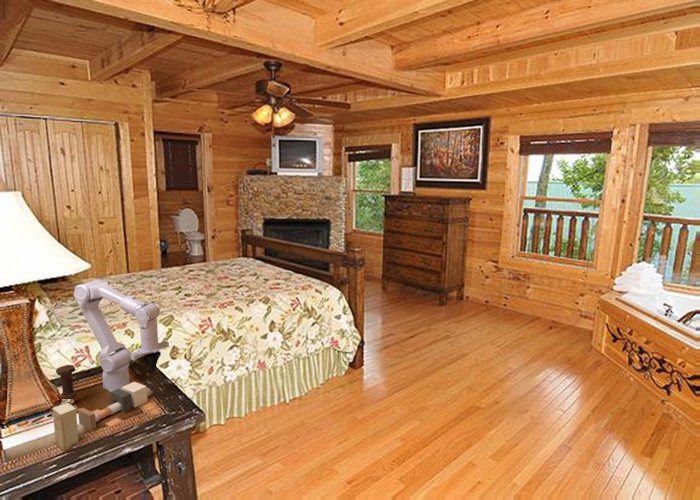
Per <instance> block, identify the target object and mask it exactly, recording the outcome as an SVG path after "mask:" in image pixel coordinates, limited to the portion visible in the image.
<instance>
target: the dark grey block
mask: <svg viewBox="0 0 700 500" xmlns="http://www.w3.org/2000/svg"><path fill="white" fill-rule="evenodd" d="M109 393H110V401H111V403H110V405H112V404H114V403H116V402H120V403H121V409H122V410H121V413H123V414H126V413H127V412H129V411H131V410H132V409H133V406H132V400H131V393H128V392H126V391H123V390H121V389H117V390H114V391H112V392H109Z"/></svg>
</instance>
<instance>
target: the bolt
mask: <svg viewBox="0 0 700 500" xmlns="http://www.w3.org/2000/svg"><path fill="white" fill-rule="evenodd" d="M74 372H76V367H75V365H73V364H65V365H62V366H59V367H57V368H56V369H55V374H57V376H60V381H61V389H62V392H61V394H60V395H61V397H62V399H73V400H74V401H75V398H76V397H77V395H78V394H77V392H76V390H74V385H73V384H74V383H73V373H74Z"/></svg>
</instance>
